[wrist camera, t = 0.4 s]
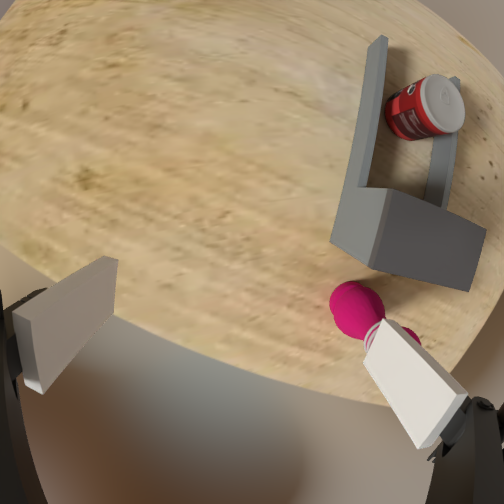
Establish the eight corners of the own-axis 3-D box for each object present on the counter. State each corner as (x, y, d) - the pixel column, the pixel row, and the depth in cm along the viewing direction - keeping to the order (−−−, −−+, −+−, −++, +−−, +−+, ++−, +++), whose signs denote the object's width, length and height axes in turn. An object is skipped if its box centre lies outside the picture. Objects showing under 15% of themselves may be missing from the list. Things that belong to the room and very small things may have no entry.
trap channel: (368, 47, 33) (411, 6, 19) (443, 86, 35) (496, 66, 21) (329, 241, 40) (372, 269, 26) (412, 263, 41) (468, 292, 27)
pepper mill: (377, 299, 42) (450, 365, 23) (343, 330, 43) (399, 412, 24) (352, 268, 41) (428, 327, 21) (316, 301, 42) (368, 382, 22)
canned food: (418, 97, 35) (459, 80, 25) (425, 143, 37) (469, 136, 26) (379, 90, 35) (417, 67, 24) (386, 139, 37) (428, 128, 26)
